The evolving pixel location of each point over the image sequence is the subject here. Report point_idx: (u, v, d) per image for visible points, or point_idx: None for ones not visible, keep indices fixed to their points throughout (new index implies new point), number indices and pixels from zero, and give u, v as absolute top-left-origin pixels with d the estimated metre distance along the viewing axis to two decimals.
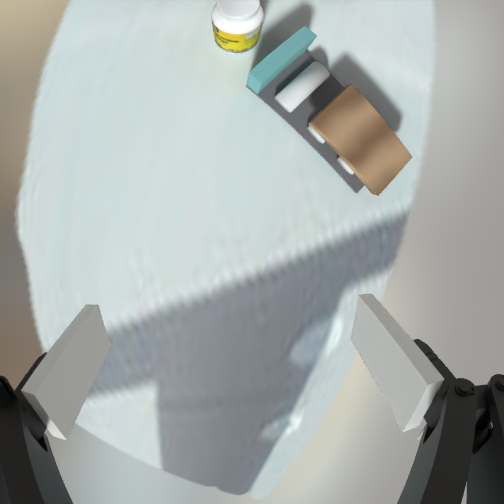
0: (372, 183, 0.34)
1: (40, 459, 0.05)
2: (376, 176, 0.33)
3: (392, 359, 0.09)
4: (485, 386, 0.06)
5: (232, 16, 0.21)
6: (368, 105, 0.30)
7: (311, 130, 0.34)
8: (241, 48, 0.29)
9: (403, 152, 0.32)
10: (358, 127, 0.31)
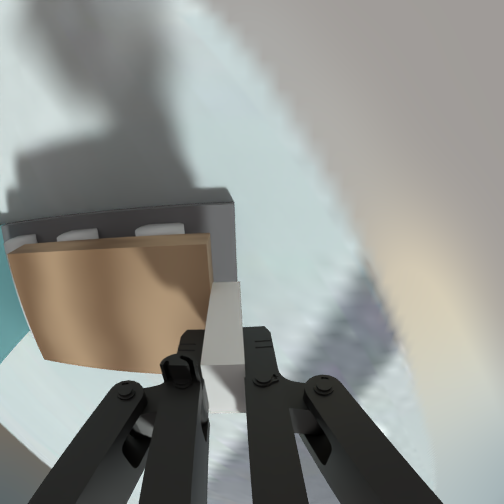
0: None
1: (200, 453, 0.06)
2: None
3: None
4: (303, 393, 0.08)
5: None
6: (44, 259, 0.12)
7: None
8: None
9: (176, 262, 0.13)
10: (73, 313, 0.14)
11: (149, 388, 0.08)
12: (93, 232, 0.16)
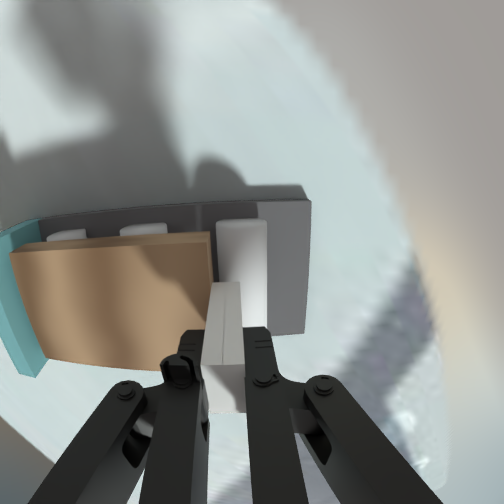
0: None
1: (200, 453, 0.06)
2: None
3: None
4: (303, 393, 0.08)
5: None
6: (46, 258, 0.13)
7: None
8: None
9: (176, 260, 0.13)
10: (74, 311, 0.14)
11: (149, 388, 0.08)
12: (164, 226, 0.16)
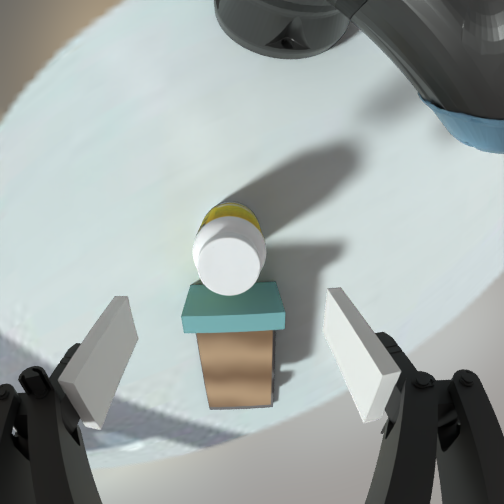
0: (211, 398, 0.32)
1: (72, 454, 0.05)
2: (219, 397, 0.32)
3: (353, 350, 0.10)
4: (448, 383, 0.07)
5: None
6: (268, 351, 0.30)
7: None
8: None
9: (264, 398, 0.32)
10: (238, 360, 0.30)
11: (25, 393, 0.07)
12: None
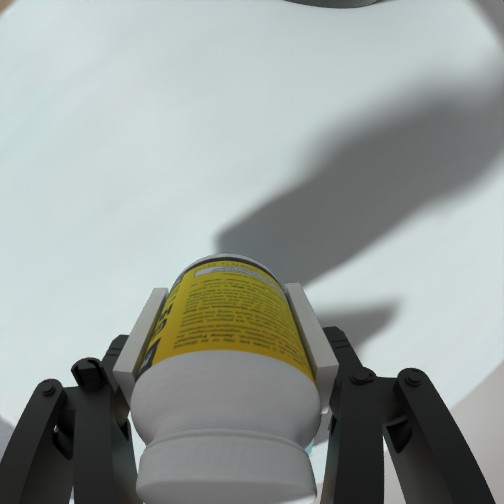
0: None
1: (120, 450, 0.06)
2: None
3: None
4: (393, 383, 0.08)
5: None
6: None
7: None
8: None
9: None
10: None
11: (71, 387, 0.08)
12: None
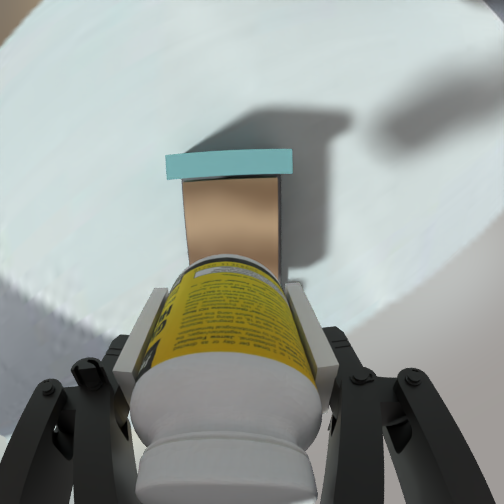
0: None
1: (120, 450, 0.06)
2: None
3: None
4: (393, 383, 0.08)
5: None
6: (273, 218, 0.24)
7: None
8: None
9: None
10: (234, 232, 0.24)
11: (71, 387, 0.08)
12: None
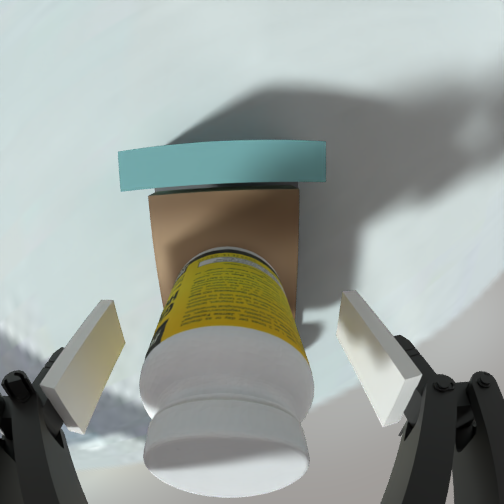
0: None
1: (56, 456, 0.05)
2: None
3: (372, 354, 0.10)
4: (467, 384, 0.07)
5: (165, 482, 0.06)
6: (290, 252, 0.16)
7: None
8: None
9: None
10: None
11: (10, 397, 0.06)
12: None
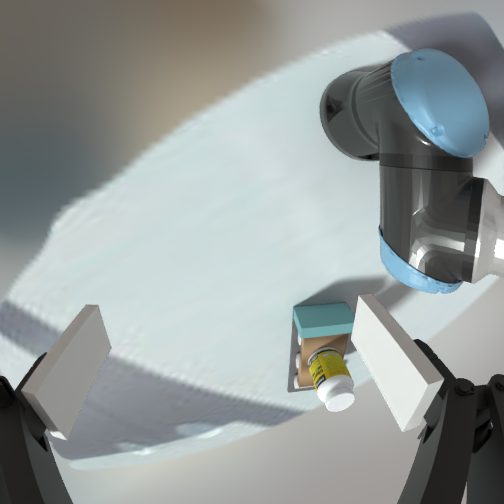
0: (302, 381, 0.49)
1: (40, 459, 0.05)
2: (307, 379, 0.49)
3: (392, 359, 0.09)
4: (485, 386, 0.06)
5: (327, 408, 0.37)
6: (343, 346, 0.47)
7: (297, 359, 0.51)
8: None
9: None
10: None
11: None
12: None
